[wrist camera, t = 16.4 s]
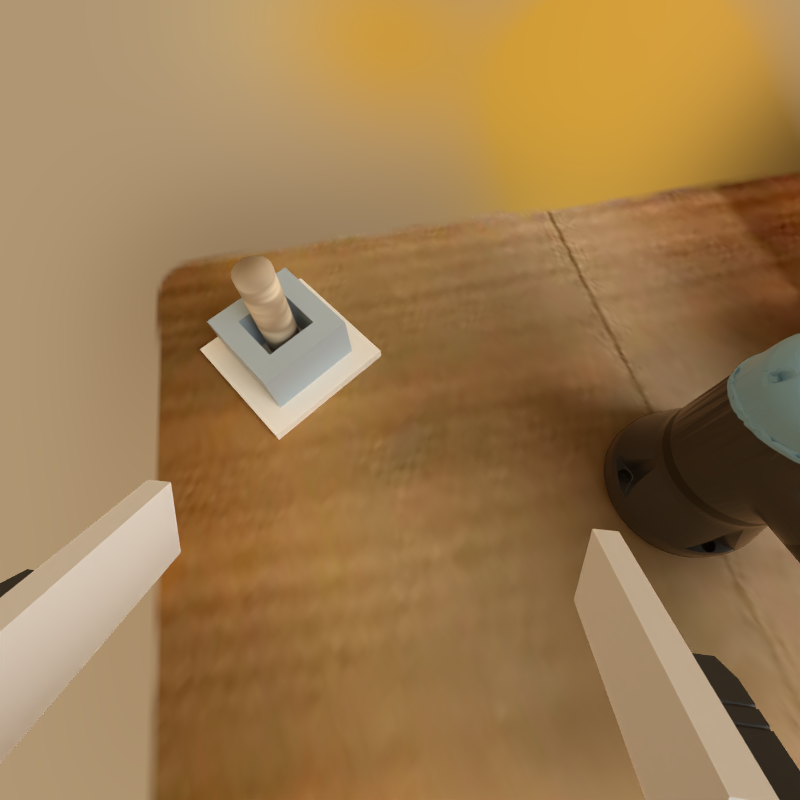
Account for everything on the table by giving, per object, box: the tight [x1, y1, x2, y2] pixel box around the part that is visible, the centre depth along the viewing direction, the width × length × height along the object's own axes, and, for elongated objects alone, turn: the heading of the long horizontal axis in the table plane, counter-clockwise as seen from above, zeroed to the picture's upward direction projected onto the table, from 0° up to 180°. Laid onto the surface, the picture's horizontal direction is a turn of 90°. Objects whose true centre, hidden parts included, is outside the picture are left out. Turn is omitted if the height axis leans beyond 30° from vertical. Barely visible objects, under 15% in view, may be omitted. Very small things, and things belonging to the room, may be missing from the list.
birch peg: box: [231, 256, 300, 353], centre depth 47 cm, size 4×4×14 cm
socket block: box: [200, 268, 381, 440], centre depth 51 cm, size 16×16×7 cm
